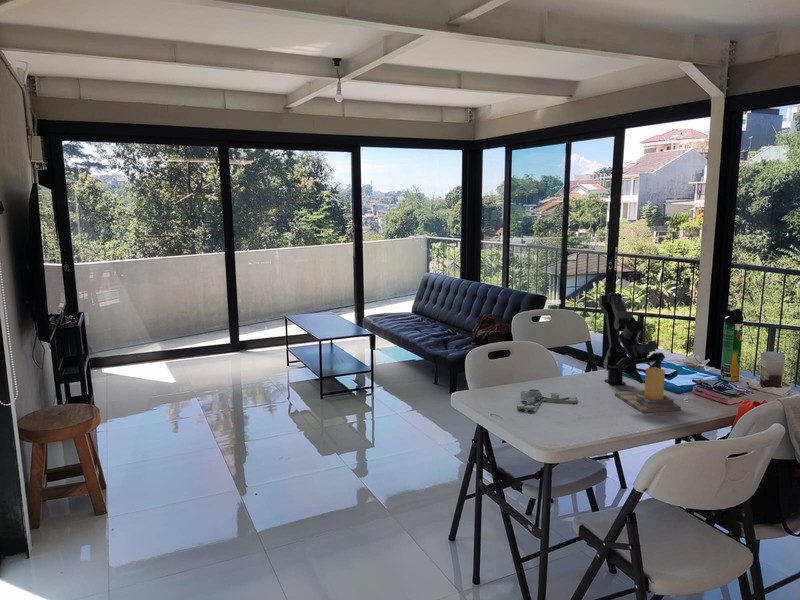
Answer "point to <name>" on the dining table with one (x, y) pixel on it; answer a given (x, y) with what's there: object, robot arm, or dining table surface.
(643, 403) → the keeper
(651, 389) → the block
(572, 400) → the pulley system
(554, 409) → the dining table surface
